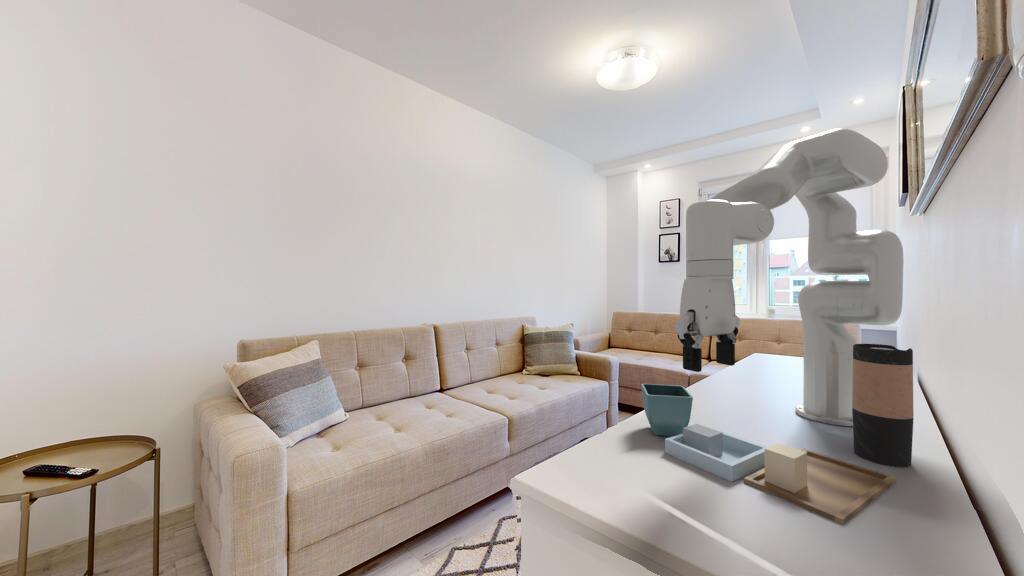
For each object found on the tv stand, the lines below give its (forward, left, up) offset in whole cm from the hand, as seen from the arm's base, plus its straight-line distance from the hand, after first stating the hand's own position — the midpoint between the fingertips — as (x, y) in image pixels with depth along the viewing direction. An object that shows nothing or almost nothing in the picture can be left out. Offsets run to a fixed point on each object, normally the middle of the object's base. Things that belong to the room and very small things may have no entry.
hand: (709, 367), depth 67 cm
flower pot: (-3, -12, -16) cm, 20 cm away
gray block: (0, -4, -14) cm, 14 cm away
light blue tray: (0, +1, -16) cm, 16 cm away
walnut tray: (-5, +14, -16) cm, 22 cm away
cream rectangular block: (0, +12, -16) cm, 20 cm away
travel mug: (-24, +16, -16) cm, 34 cm away
